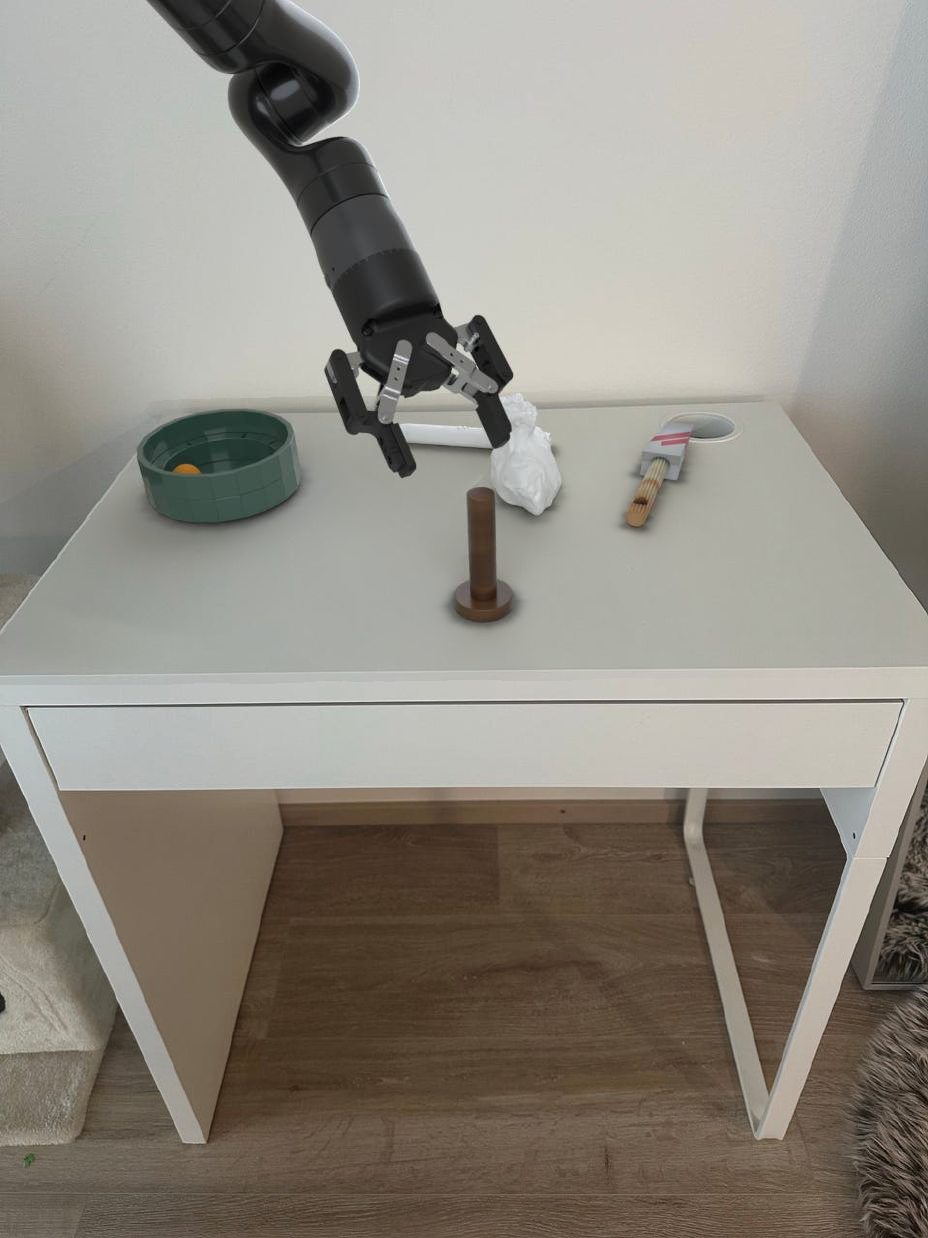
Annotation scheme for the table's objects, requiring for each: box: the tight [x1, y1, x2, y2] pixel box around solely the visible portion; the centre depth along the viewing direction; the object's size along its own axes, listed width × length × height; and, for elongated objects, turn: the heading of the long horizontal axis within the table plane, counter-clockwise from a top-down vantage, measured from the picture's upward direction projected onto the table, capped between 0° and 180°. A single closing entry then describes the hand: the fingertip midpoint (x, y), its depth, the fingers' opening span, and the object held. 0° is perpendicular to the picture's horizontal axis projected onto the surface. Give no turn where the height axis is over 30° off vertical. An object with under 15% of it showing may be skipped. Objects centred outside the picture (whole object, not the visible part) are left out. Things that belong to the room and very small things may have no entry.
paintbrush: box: [625, 421, 694, 528], centre depth 93 cm, size 4×3×20 cm
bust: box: [490, 392, 563, 516], centre depth 90 cm, size 12×8×11 cm
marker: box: [399, 422, 552, 450], centre depth 101 cm, size 18×2×2 cm, turn 77°
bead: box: [173, 464, 201, 474], centre depth 93 cm, size 3×3×3 cm
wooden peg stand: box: [454, 486, 514, 623], centre depth 74 cm, size 5×5×10 cm
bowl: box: [136, 408, 302, 523], centre depth 94 cm, size 15×15×6 cm
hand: (457, 458), depth 73 cm, fingers open, 8 cm apart
